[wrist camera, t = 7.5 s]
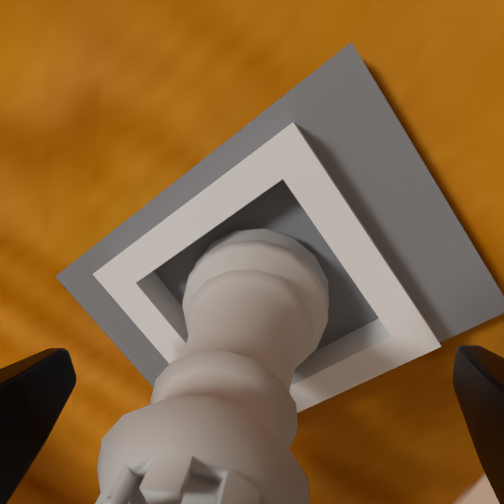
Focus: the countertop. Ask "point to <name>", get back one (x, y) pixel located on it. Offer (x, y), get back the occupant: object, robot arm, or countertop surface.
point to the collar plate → (303, 237)
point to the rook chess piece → (226, 384)
